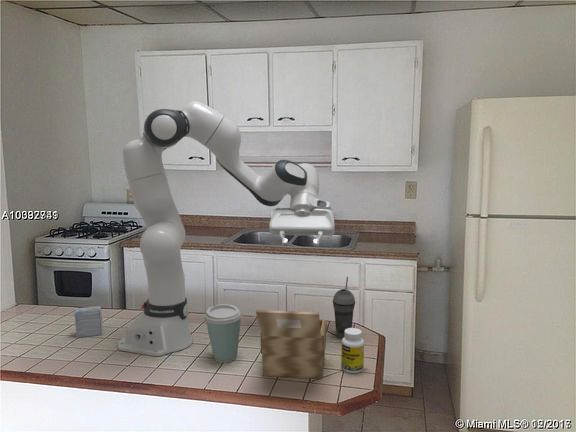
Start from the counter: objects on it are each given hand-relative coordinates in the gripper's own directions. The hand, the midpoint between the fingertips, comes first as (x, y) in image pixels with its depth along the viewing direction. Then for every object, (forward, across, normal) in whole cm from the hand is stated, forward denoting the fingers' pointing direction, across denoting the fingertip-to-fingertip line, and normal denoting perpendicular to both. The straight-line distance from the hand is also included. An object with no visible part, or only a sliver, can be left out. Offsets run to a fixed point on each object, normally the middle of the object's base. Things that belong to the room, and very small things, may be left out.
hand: (300, 245), depth 145 cm
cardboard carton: (+33, 0, +11) cm, 35 cm away
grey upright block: (+23, -70, +22) cm, 77 cm away
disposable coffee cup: (+31, -21, +14) cm, 40 cm away
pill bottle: (+32, +16, +12) cm, 38 cm away
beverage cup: (+17, +13, +28) cm, 35 cm away
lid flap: (+28, 0, -7) cm, 29 cm away
